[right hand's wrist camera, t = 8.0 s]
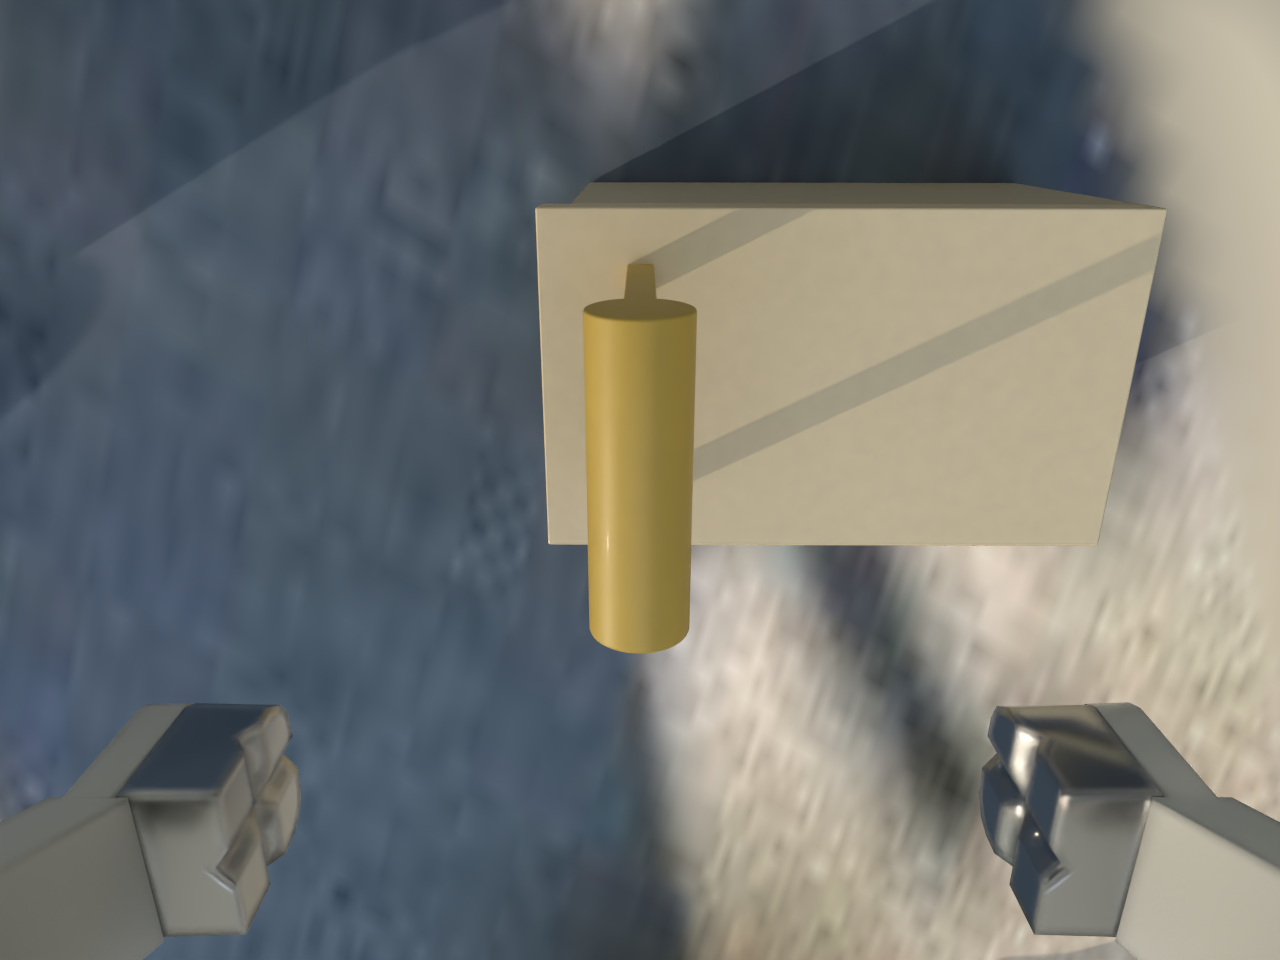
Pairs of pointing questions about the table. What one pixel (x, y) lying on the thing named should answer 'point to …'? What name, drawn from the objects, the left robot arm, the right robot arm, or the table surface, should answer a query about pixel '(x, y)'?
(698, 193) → the chest
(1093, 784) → the right robot arm
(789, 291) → the lid
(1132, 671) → the table surface
